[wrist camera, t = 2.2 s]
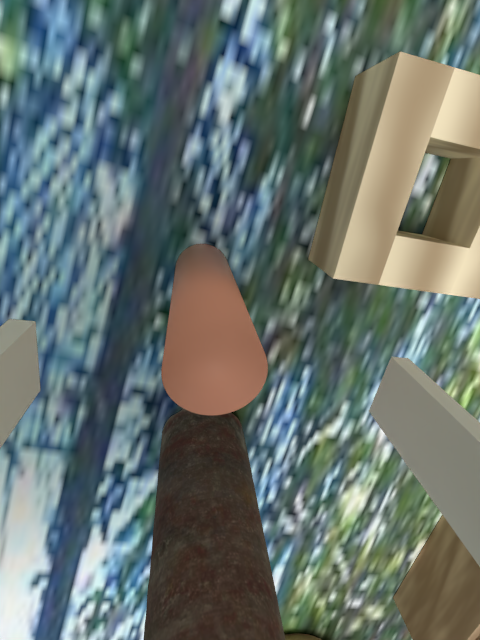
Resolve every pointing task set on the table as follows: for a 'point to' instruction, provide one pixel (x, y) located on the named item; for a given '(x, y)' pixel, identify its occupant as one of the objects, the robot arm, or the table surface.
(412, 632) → the frame
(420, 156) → the socket block
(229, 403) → the peg
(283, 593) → the table surface
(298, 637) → the potted plant
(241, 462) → the brown log
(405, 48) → the table surface
